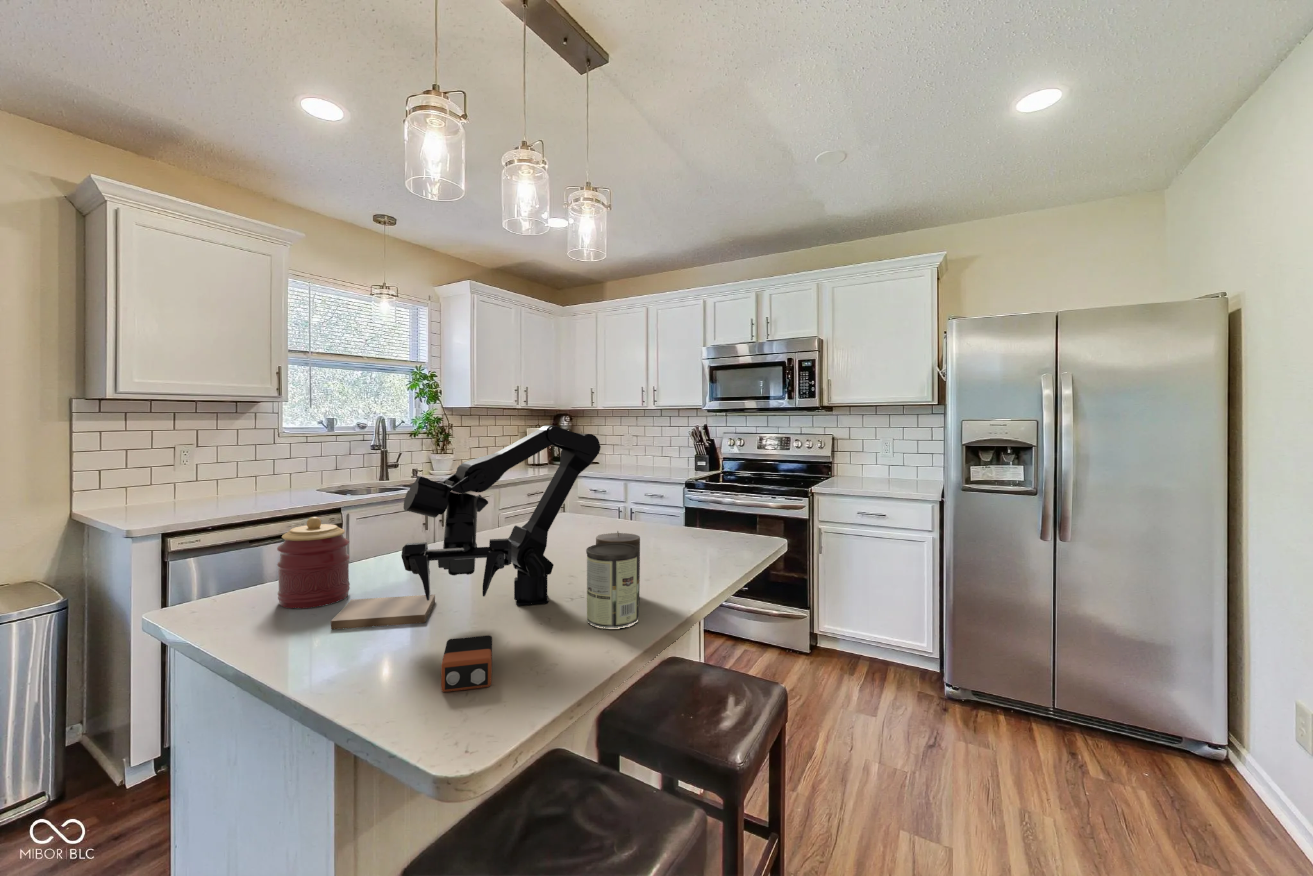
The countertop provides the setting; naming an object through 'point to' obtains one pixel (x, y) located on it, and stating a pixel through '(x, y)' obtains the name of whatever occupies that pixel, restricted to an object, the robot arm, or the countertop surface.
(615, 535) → the pillar candle
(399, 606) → the walnut cutting board
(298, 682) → the countertop surface
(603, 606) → the coffee can
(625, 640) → the countertop surface
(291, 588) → the canister
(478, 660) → the battery
